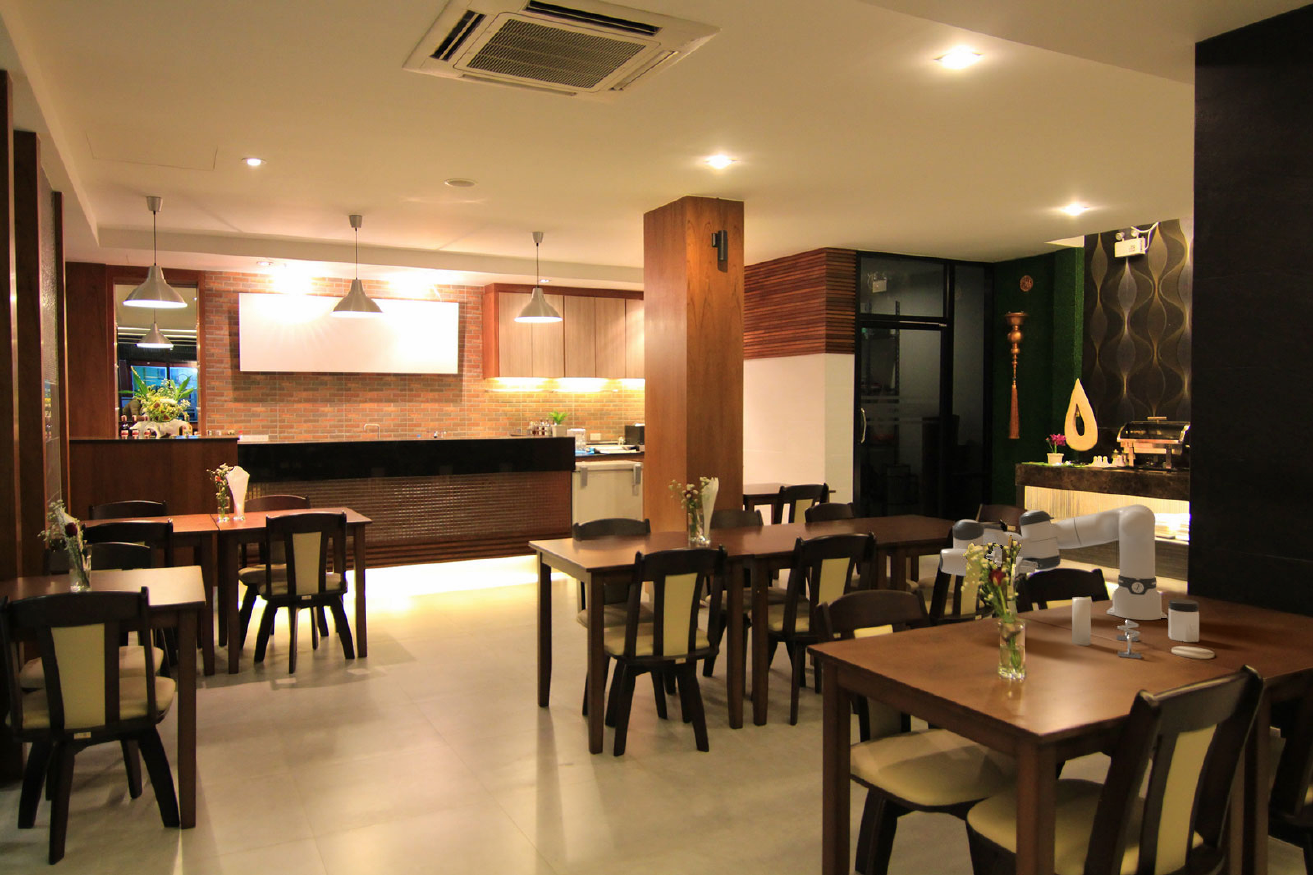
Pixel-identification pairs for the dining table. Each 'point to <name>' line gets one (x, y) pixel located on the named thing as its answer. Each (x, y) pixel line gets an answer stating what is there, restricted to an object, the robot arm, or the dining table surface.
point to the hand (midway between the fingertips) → (1036, 567)
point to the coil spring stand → (1129, 639)
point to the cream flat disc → (1192, 652)
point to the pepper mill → (1081, 621)
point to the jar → (1183, 620)
